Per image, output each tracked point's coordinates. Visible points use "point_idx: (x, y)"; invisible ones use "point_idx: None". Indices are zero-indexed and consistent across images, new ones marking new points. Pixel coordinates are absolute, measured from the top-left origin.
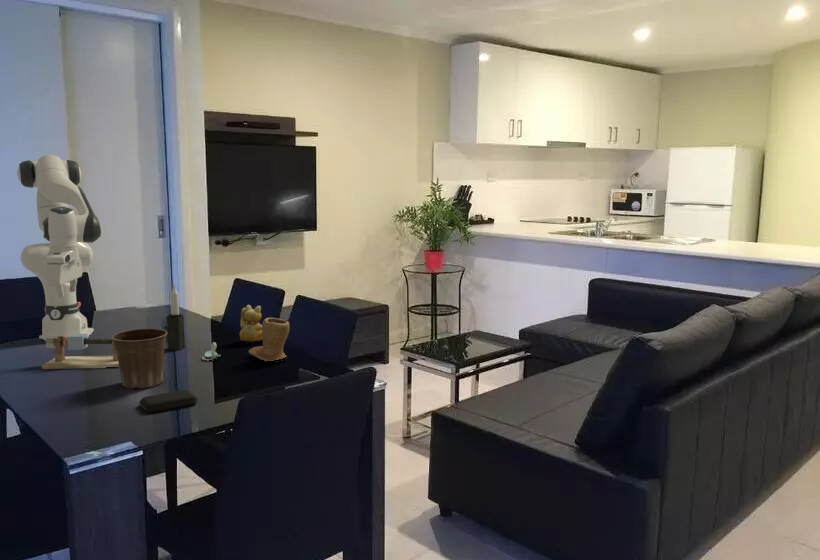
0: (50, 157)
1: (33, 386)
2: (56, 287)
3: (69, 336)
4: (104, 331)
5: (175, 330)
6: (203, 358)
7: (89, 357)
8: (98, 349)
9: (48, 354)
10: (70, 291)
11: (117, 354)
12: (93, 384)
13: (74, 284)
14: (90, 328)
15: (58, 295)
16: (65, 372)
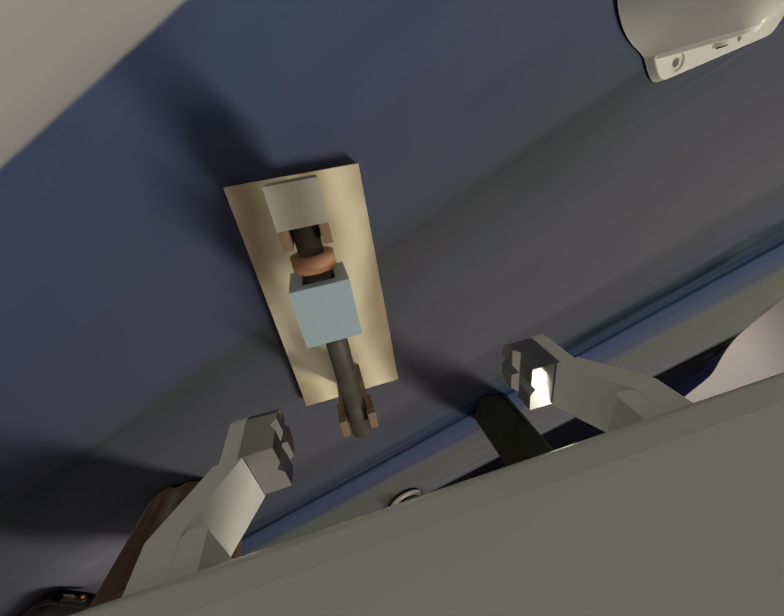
0: None
1: (25, 302)
2: (153, 557)
3: (295, 301)
4: (732, 92)
5: (501, 455)
6: (398, 500)
7: (361, 285)
8: (492, 223)
9: (426, 68)
10: (505, 351)
11: (98, 594)
12: (140, 434)
13: (578, 408)
14: (773, 20)
15: (230, 437)
16: (217, 293)
